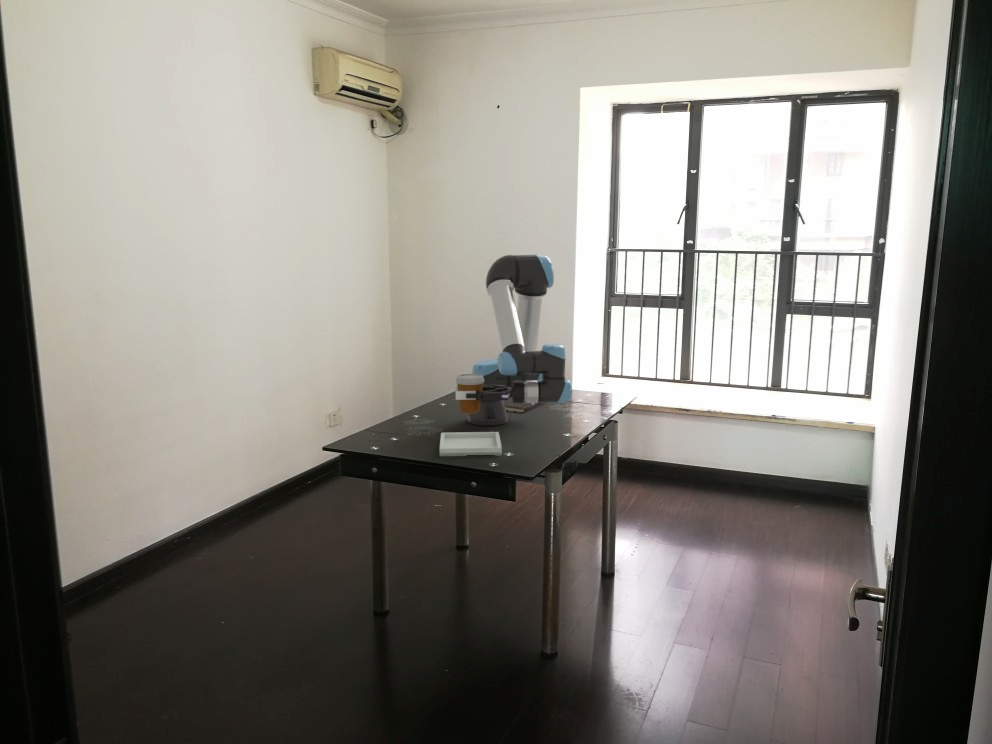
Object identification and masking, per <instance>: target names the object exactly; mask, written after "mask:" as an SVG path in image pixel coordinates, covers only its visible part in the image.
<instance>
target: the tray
mask: <svg viewBox="0 0 992 744" xmlns="http://www.w3.org/2000/svg"><path fill="white" fill-rule="evenodd" d="M502 447H503V446H502V443H501V437H500V433H499V431H476V432H475V431H471V432H468V431H466V432H456V431H455V432H441V433H440V441H439V457H468V456H467V455H495V456H502V455H503V454H502V453H503V451H502Z"/></svg>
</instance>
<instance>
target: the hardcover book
mask: <svg viewBox="0 0 992 744" xmlns="http://www.w3.org/2000/svg"><path fill="white" fill-rule="evenodd" d="M503 403H504V406H505V409H506V410H508V411H507V412H514V411H516V412H515V413H521V412H524V414H525V412H526V413H528V412H530V411H532V410H535V409H536V407H537V408H538V406H539V407H541V406H543V405H545V404H544V403H534V405H532V403H526V402H525V401H524V403H513V401H512V397H509V398H508V400H503ZM542 404H543V405H542ZM540 405H541V406H540ZM531 409H532V410H531ZM529 410H530V411H529ZM527 411H528V412H527Z"/></svg>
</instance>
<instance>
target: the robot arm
mask: <svg viewBox="0 0 992 744" xmlns="http://www.w3.org/2000/svg"><path fill="white" fill-rule="evenodd" d="M486 274H487V275H486V278H485V286H486V292H487V294H488V296H490V298H491V303H492V307H493V312H494V317H495V322H496V326H497V331H498V332H497V333H498V336H499V340H500V346H501V351H502V352H500V353H499V354H498V357H497V358H491V359H484V360H481V361H478V362H476V363H474V365H472V373H471V374H479V375H482V376H483V378H484V383H483V388H482V391H480V392H479V390H476V391H458V386H457V385H455V400H456V401H459V400H478V401H481V405H480V412H479V413H474V414H467V422H468V423H469V424H472V425H475V426H484V427H486V426H492V427H493V426H499V425H504V424H506V423H508V420H509V419H508V413H507V411H506V409H505V406H504V403H503V400H508V398H509V397H512V401H513V403H524V401H525V402H526V403H532V405H534V403H546V404H559V403H561V404H563V403H569V402H570V401H571V399H572V392H573V390H572V382H571V380H569V379H566V377H565V375H566V360H567V359H566V349H565V348H566V347H565V346H564V345H562V344H558V343H548V344H543V345H542V347H541V348H542V349H541V350H538V343H539V342H538V341H539V332H540V331H539V330H540V320H541V311H542V301H543V297H545V296H546V295H547V292H548V289H551V288H552V287H553V286H554V281H555V278H554V277H555V274H554V267H553V264H552V261H551V259H550V258H549V257H548V256H547V255H543V254H540V255H539V254H519V255H518V254H516V255H515V254H513V255H512V254H509V255H508V254H507V255H503V256H500V257H499V258H498V259H496V260H495V261H494V262H493V263H492V264H491V266H490V268H489V269H488V271H487V273H486ZM513 292H515V294H516V295H517V297H518V299H517V306H516V303H515V302H516V301H515V298H514V293H513Z"/></svg>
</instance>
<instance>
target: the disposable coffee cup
mask: <svg viewBox="0 0 992 744" xmlns="http://www.w3.org/2000/svg"><path fill="white" fill-rule="evenodd" d="M455 382H456V386H458V391H476V390H479V392H480V391H482V388H483V383H484V378H483V376H482V375H479V374H472V373H465V374H458V375H457V376H456V379H455ZM458 401H459V408H460V413H462V414H467V415H468V414H474V413H479V412H480V405H481V401H478V400H458Z"/></svg>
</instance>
